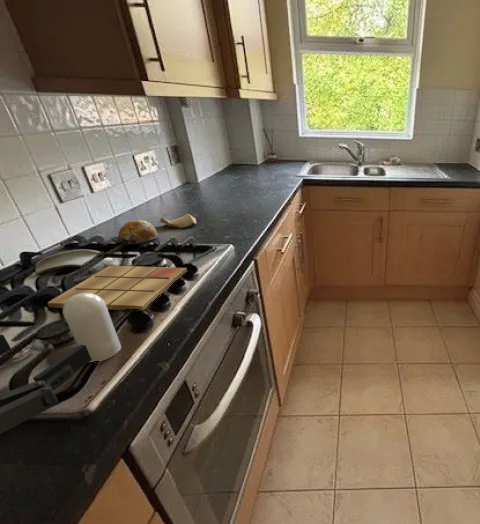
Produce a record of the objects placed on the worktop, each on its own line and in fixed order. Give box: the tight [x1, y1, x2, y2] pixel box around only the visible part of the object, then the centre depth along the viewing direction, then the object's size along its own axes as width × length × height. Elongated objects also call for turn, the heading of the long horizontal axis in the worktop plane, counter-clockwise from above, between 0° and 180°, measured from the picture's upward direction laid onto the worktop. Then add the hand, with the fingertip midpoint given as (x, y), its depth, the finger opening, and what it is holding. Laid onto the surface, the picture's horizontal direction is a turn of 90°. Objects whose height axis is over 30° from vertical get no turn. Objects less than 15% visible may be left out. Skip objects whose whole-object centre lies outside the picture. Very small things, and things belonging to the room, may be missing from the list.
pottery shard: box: [159, 213, 198, 229], centre depth 118 cm, size 11×4×10 cm
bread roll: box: [117, 219, 159, 245], centre depth 104 cm, size 10×10×8 cm
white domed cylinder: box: [62, 293, 122, 363], centre depth 56 cm, size 5×5×12 cm
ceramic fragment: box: [34, 249, 102, 275], centre depth 86 cm, size 14×5×4 cm, turn 142°
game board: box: [47, 265, 188, 311], centre depth 78 cm, size 20×18×1 cm
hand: (45, 346), depth 49 cm, fingers open, 13 cm apart
